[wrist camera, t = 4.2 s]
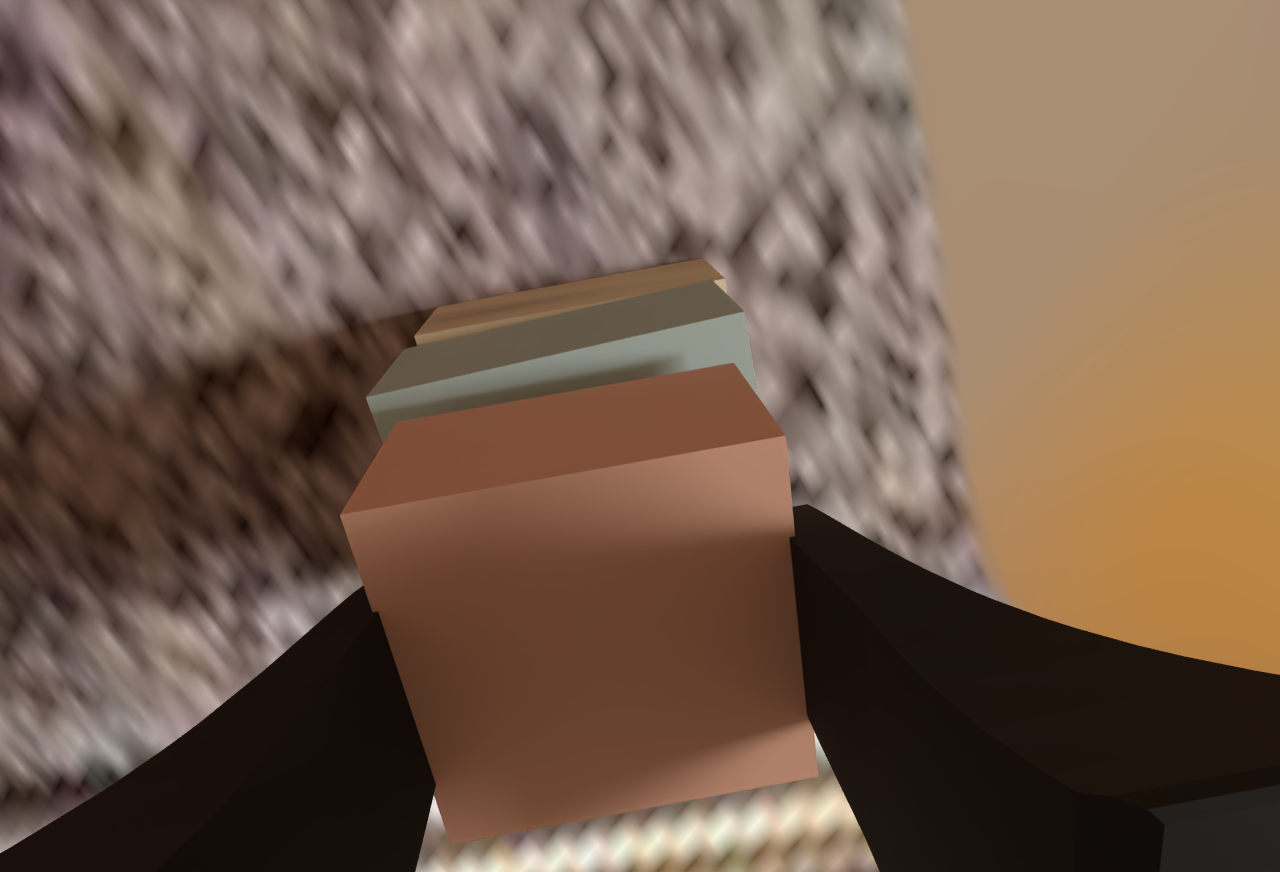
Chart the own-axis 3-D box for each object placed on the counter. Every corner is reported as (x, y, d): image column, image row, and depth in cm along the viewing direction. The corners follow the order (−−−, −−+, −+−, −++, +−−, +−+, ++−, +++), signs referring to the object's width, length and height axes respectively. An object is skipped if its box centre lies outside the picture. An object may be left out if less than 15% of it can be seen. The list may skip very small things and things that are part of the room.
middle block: (759, 549, 17) (796, 629, 14) (490, 610, 17) (475, 702, 14) (711, 279, 15) (744, 311, 12) (404, 349, 15) (366, 397, 12)
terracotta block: (766, 642, 13) (818, 776, 11) (476, 695, 13) (450, 845, 10) (733, 362, 12) (785, 435, 9) (396, 421, 11) (340, 515, 9)
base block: (733, 493, 20) (760, 550, 17) (500, 536, 20) (488, 601, 17) (700, 256, 18) (724, 278, 15) (439, 304, 18) (414, 335, 15)
